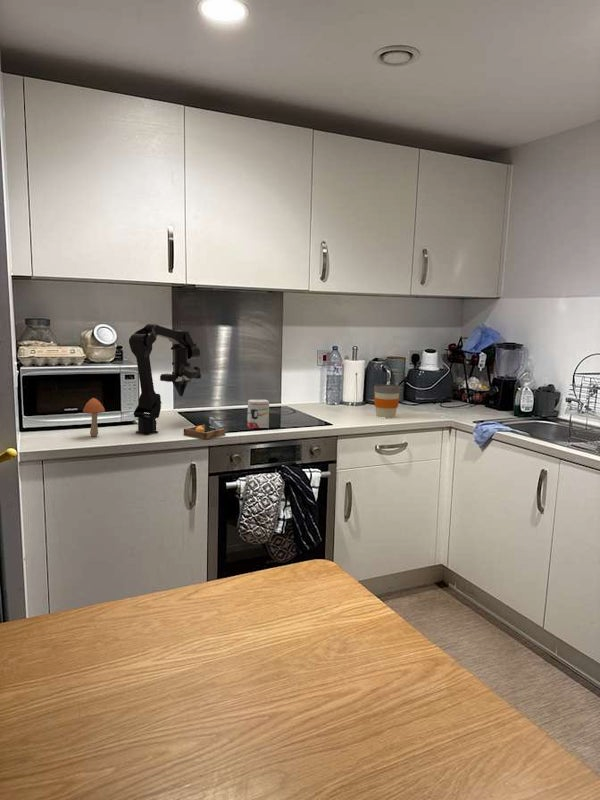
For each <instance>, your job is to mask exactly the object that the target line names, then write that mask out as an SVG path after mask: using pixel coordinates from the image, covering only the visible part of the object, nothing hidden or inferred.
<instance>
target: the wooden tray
mask: <svg viewBox="0 0 600 800" xmlns="http://www.w3.org/2000/svg"><path fill="white" fill-rule="evenodd" d="M198 426H202V427H203V428H204V430H205V432H200V431H195V430H196V428H197V427H198ZM225 435H226V428H223V429H219V430H216V429H214V430H212V431H211V430H210V431H207V432H206V424H201V425H196V426H195V425H194V426H192V427H187V428H183V436H185V437H186V436H187V437H189V438H190V437H192V438H195V439H200V440H210V439H213V438H218V437H223V436H225Z"/></svg>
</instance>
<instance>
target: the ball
mask: <svg viewBox="0 0 600 800" xmlns="http://www.w3.org/2000/svg"><path fill="white" fill-rule="evenodd" d="M197 426H198V427H197V428H196V430H195V431H200V432H205V433H206V429H205V430H204V428H203V427H202V426H200V425H197Z"/></svg>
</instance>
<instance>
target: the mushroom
mask: <svg viewBox="0 0 600 800" xmlns="http://www.w3.org/2000/svg"><path fill="white" fill-rule="evenodd" d="M105 411H106V409H105V407H104V406H103V404H102V403H101V401H100V400H98V399H97V398H95V397H92V398H91V399H89V400H88V401H87V402H86V404H85V406H84V407H83V410H82V412H83V413H84V414H91V425H90V430H89V431H90V432H89V434H90V437H92V436H96V437H98V436H99V428H98V414H101V413H104V412H105ZM97 435H98V436H97Z"/></svg>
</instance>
